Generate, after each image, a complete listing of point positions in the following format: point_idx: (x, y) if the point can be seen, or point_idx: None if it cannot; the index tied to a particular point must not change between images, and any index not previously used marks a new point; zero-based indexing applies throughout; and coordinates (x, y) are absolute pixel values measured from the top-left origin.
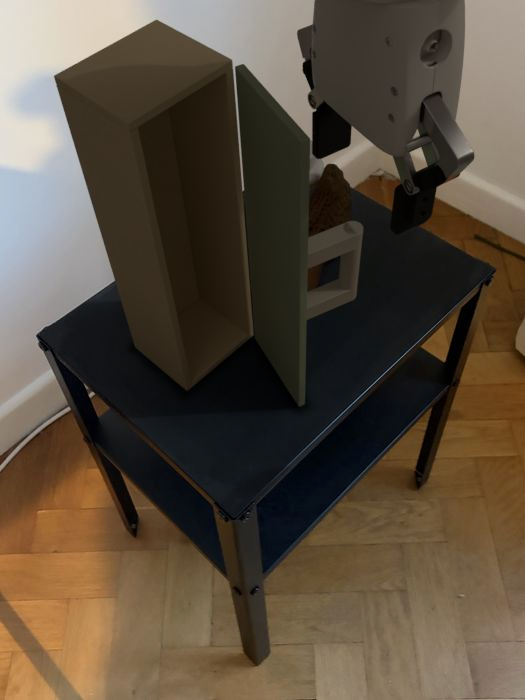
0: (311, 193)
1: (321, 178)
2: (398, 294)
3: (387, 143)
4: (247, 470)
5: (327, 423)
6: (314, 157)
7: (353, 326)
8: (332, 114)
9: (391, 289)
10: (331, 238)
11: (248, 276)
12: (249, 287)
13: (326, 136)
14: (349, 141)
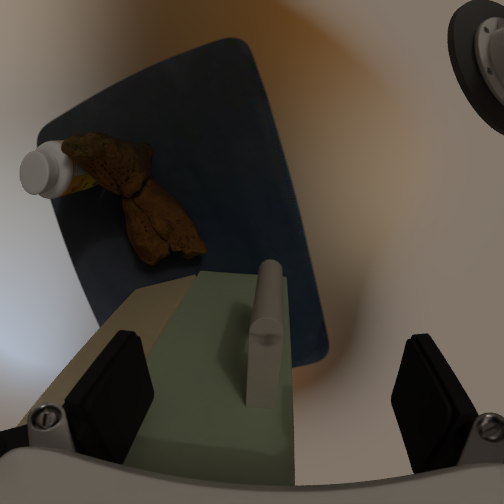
0: (80, 166)
1: (72, 159)
2: (221, 124)
3: None
4: (310, 339)
5: (312, 269)
6: (48, 160)
7: (233, 187)
8: (111, 443)
9: (212, 126)
10: (267, 367)
11: (171, 314)
12: (176, 306)
13: (133, 415)
14: (134, 341)
